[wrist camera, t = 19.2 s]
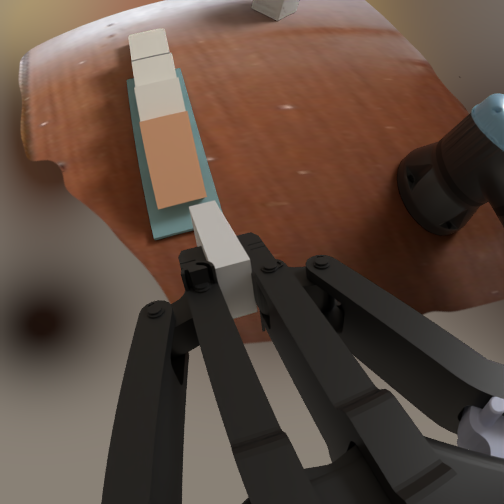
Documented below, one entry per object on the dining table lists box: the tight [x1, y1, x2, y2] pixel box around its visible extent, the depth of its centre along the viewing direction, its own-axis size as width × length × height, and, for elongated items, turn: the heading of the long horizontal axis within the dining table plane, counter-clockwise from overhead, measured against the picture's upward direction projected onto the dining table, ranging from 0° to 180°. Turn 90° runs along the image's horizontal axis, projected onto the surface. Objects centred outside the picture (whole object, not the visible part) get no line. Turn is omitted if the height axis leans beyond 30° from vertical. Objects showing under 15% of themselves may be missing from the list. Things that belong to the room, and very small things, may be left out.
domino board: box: [127, 68, 222, 240], centre depth 42 cm, size 28×9×1 cm, turn 17°
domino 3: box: [134, 77, 186, 122], centre depth 39 cm, size 2×6×11 cm
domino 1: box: [128, 29, 170, 62], centre depth 42 cm, size 2×6×11 cm
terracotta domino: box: [139, 111, 207, 209], centre depth 37 cm, size 2×6×11 cm
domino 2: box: [132, 53, 177, 87], centre depth 40 cm, size 2×6×11 cm
